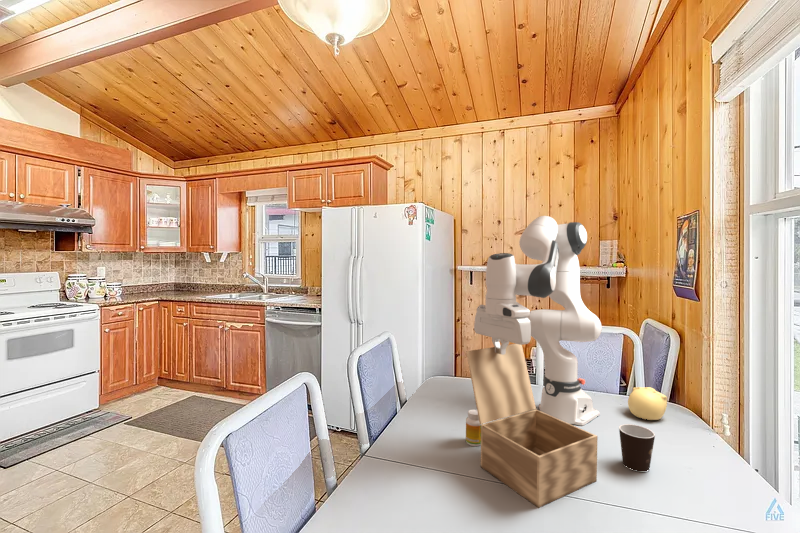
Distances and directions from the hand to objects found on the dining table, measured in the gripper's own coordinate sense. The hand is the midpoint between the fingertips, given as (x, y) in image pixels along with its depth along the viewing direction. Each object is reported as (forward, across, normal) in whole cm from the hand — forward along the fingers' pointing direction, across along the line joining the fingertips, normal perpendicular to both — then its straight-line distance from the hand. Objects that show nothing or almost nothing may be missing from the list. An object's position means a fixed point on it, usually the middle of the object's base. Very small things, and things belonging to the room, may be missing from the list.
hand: (500, 353), depth 116 cm
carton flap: (+8, +1, 0) cm, 8 cm away
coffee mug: (+30, +25, +29) cm, 49 cm away
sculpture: (+30, +8, +65) cm, 72 cm away
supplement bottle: (+30, -8, -3) cm, 31 cm away
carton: (+30, +14, 0) cm, 33 cm away
